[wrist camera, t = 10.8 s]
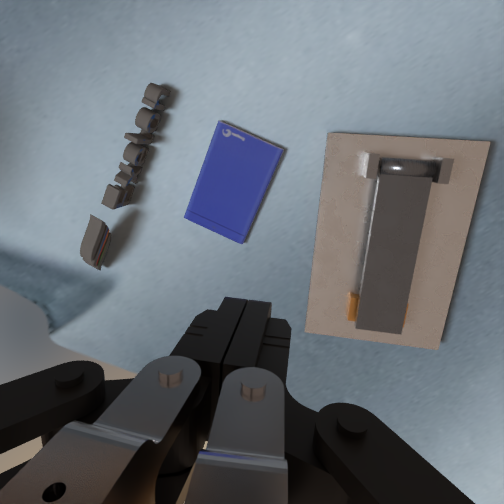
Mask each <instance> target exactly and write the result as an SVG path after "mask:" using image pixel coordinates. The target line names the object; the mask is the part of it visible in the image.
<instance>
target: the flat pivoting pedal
mask: <svg viewBox="0 0 504 504" xmlns="http://www.w3.org/2000/svg"><path fill="white" fill-rule="evenodd" d="M435 171H436V161H434V160H418V159H403V158H387V157H381V159H380V162H379V168H378V179H377V185H376V191H375V198H374V204H373V210H372V217H371V223H370V229H369V236H368V242H367V248H366V255H365V261H364V267H363V274H362V280H361V286H360V293H359V299H358V305H357V312H356V318H355V324H354V325H355V329H361V330H369V331H377V332H384V333H392V334H400V335H401V334H402V329H403V324H404V319H405V314H406V309H407V304H408V299H409V294H410V289H411V284H412V279H413V274H414V269H415V264H416V259H417V254H418V249H419V244H420V239H421V234H422V229H423V224H424V219H425V214H426V209H427V204H428V199H429V194H430V189H431V184H432V179H433V177H434V174H435Z"/></svg>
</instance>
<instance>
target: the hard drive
mask: <svg viewBox="0 0 504 504" xmlns="http://www.w3.org/2000/svg"><path fill="white" fill-rule="evenodd" d="M283 151H284V149H282V148H280V147H278V146H276V145H273V144H271V143H269V142H267V141H265V140H262V139H260V138H258V137H256V136H253V135H251V134H249V133H247V132H245V131H242V130H240V129H238V128H236V127H233V126H231V125H229V124H227V123H225V122H222V121H218V124H217V126H216V129H215V132H214V135H213V138H212V140H211V143H210V146H209V149H208V151H207V154H206V157H205V160H204V163H203V165H202V168H201V171H200V174H199V177H198V179H197V182H196V185H195V188H194V190H193V193H192V196H191V199H190V202H189V205H188V207H187V210H186V213H185V216H184V218H186V219H188V220H190V221H192V222H194V223H196V224H198V225H200V226H203V227H205V228H207V229H209V230H211V231H214V232H216V233H218V234H220V235H222V236H224V237H227V238H229V239H231V240H233V241H235V242H237V243H240V244H243V243H244V241H245V239H246V236H247V234H248V232H249V230H250V227H251V225H252V223H253V220H254V218H255V216H256V214H257V211H258V209H259V207H260V204H261V202H262V200H263V197H264V195H265V193H266V191H267V188H268V186H269V184H270V181H271V179H272V177H273V174H274V172H275V170H276V167H277V165H278V163H279V161H280V158H281V156H282V154H283Z"/></svg>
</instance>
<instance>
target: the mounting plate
mask: <svg viewBox="0 0 504 504" xmlns="http://www.w3.org/2000/svg"><path fill="white" fill-rule="evenodd" d="M490 143H491V142H487V141H469V140H451V139H433V138H415V137H397V136H380V135H362V134H344V133H327V140H326V149H325V157H324V166H323V174H322V183H321V192H320V200H319V209H318V217H317V226H316V234H315V243H314V252H313V260H312V269H311V277H310V286H309V295H308V303H307V312H306V320H305V332H308V333H315V334H322V335H330V336H337V337H345V338H352V339H360V340H367V341H375V342H382V343H389V344H397V345H404V346H412V347H419V348H427V349H434V350H438V349H439V345H440V341H441V337H442V333H443V329H444V325H445V321H446V317H447V313H448V309H449V305H450V301H451V297H452V293H453V289H454V285H455V281H456V277H457V273H458V269H459V265H460V262H461V258H462V254H463V250H464V246H465V242H466V238H467V234H468V230H469V226H470V222H471V218H472V214H473V210H474V206H475V202H476V198H477V194H478V190H479V186H480V182H481V178H482V174H483V170H484V166H485V162H486V159H487V155H488V151H489V147H490ZM381 157H387V158H403V159H418V160H434V161H436V171H435V174H434V177H433V179H432V184H431V189H430V194H429V199H428V204H427V209H426V214H425V219H424V224H423V229H422V234H421V239H420V244H419V249H418V254H417V259H416V264H415V269H414V274H413V279H412V284H411V289H410V294H409V299H408V304H407V309H406V314H405V319H404V324H403V329H402V334H401V335H400V334H392V333H384V332H377V331H369V330H361V329H355V325H354V324H355V318H356V312H357V305H358V299H359V293H360V286H361V280H362V274H363V267H364V261H365V255H366V248H367V242H368V236H369V229H370V223H371V217H372V210H373V204H374V198H375V191H376V185H377V179H378V168H379V162H380V159H381Z"/></svg>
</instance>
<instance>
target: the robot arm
mask: <svg viewBox="0 0 504 504" xmlns="http://www.w3.org/2000/svg"><path fill="white" fill-rule="evenodd" d="M271 306H272V304H271V302H264V301H256V300H249V301H248V300H247V299H239V298H231V297H225V298H224V300H223V302H222V303H221V305H220V307H219V309H218V310H217V311H216V310H208V309H207V310H206V311H204V312H202V313H200V314H199V315H197V316H196V317H195V318H194V320H193V321H192V323H191V324H190V327H188V329H187V330H186V332H185V334H184V335H183V336H182V338H181V339H180V341H179V342H178V344H177V345H176V347H175V348H174V349H173V351H172V352H171V354H170V355H169V356H166V357H161V358H158V359H156V360H153V361H151V362H150V363H148V364H147V365H146V366H145V367H144V368H143V369H142V370H141V371H140V372H139V373H138V375H137V376H136V377H135V378H132V379H120V380H106V381H105V379H104V370H103V368H102V367H101V366H100V365H99V364H97V363H94V362H91V361H72V362H67V363H63V364H60V365H57V366H54V367H51V368H48V369H45V370H43V371H40V372H37V373H34V374H31V375H28V376H25V377H22V378H19V379H17V380H13V381H11V382H8V383H5V384H2V385H0V454H2V453H4V452H6V451H8V450H10V449H13V448H15V447H17V446H19V445H22V444H24V443H26V442H28V441H30V440H33V439H35V438H37V437H39V436H41V438H42V444H43V448H42V449H41V450H40V451H39V452H38V453H37V454H36V455H35V456H34V457H33V458H32V459H30V460H28V461H26V462H24V463H22V464H20V465H18V466H15V467H13V468H11V469H9V470H7V471H5V472H3V473H1V474H0V504H475V503H474V502H473V501H472V500H470V499H469V498H468V497H467V496H466V495H465V494H464V493H463V492H461V491H460V490H459V489H458V488H457V487H456V486H455V485H453V484H452V483H451V482H450V481H449V480H448V479H447V478H446V477H444V476H443V475H442V474H441V473H440V472H439V471H438V470H436V469H435V468H434V467H433V466H432V465H431V464H430V463H429V462H427V461H426V460H425V459H424V458H423V457H422V456H421V455H419V454H418V453H417V452H416V451H415V450H414V449H413V448H411V447H410V446H409V445H408V444H407V443H406V442H405V441H404V440H402V439H401V438H400V437H399V436H398V435H397V434H396V433H394V432H393V431H392V430H391V429H390V428H389V427H388V426H387V425H385V424H384V423H383V422H382V421H381V420H380V419H379V418H377V417H376V416H375V415H374V414H372V413H371V412H369V411H368V410H366V409H364V408H362V407H360V406H357V405H354V404H349V403H332V404H329V405H327V406H325V407H323V408H322V409H321V410H320V411H319V412H316V411H314V410H311V409H309V408H307V407H305V406H303V405H302V404H300V403H298V402H297V401H296V400H295V399H294V398H293V397H292V396H291V395H290V393H289V392H288V390H287V388H286V377H287V367H288V358H289V348H290V339H291V327H290V326H289V324H288V322H287V321H286V320H285V319H278V318H271ZM205 441H208V443H207V448H206V450H205V449H203V447H204V444H205ZM184 502H185V503H184Z"/></svg>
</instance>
